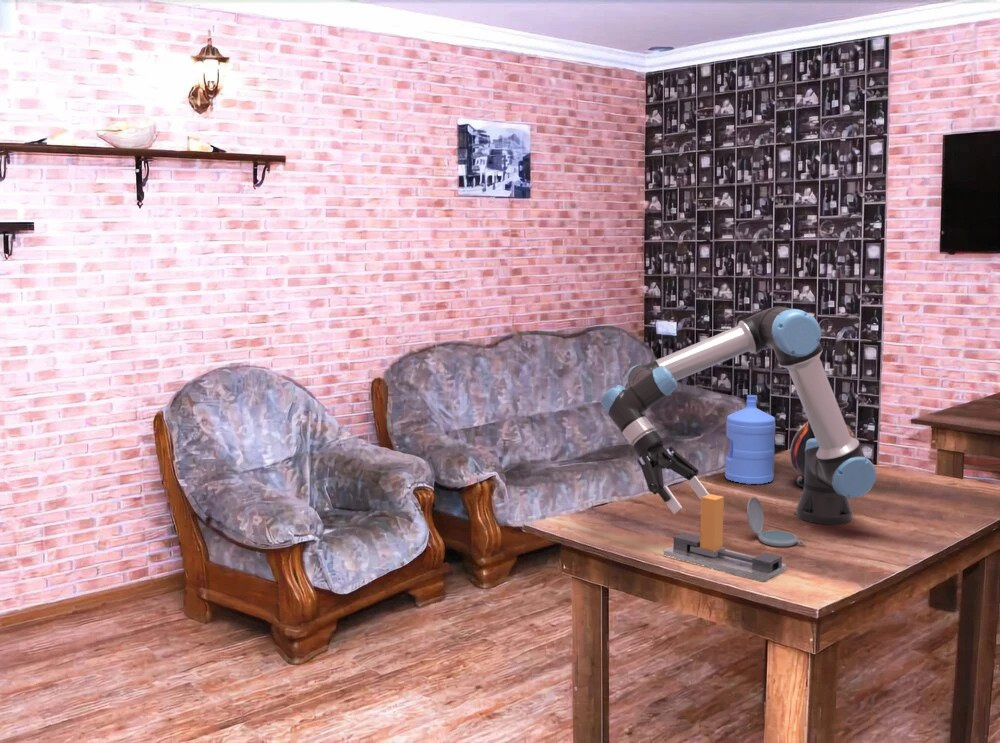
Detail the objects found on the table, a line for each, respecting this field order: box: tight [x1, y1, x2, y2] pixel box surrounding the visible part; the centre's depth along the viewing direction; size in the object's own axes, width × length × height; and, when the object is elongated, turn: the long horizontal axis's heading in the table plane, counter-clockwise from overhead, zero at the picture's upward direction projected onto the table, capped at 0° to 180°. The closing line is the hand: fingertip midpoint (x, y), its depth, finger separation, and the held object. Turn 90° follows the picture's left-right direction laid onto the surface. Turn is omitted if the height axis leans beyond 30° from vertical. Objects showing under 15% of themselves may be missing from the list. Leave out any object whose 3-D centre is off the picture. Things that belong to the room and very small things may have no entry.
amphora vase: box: [789, 398, 857, 489], centre depth 315 cm, size 22×22×28 cm
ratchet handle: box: [690, 493, 753, 563], centre depth 243 cm, size 20×5×14 cm, turn 47°
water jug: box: [724, 394, 776, 485], centre depth 325 cm, size 16×16×28 cm
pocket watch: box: [746, 496, 806, 548], centre depth 261 cm, size 10×11×15 cm
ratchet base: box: [662, 532, 787, 583], centre depth 245 cm, size 28×11×4 cm, turn 47°
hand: (692, 505), depth 249 cm, fingers open, 13 cm apart
